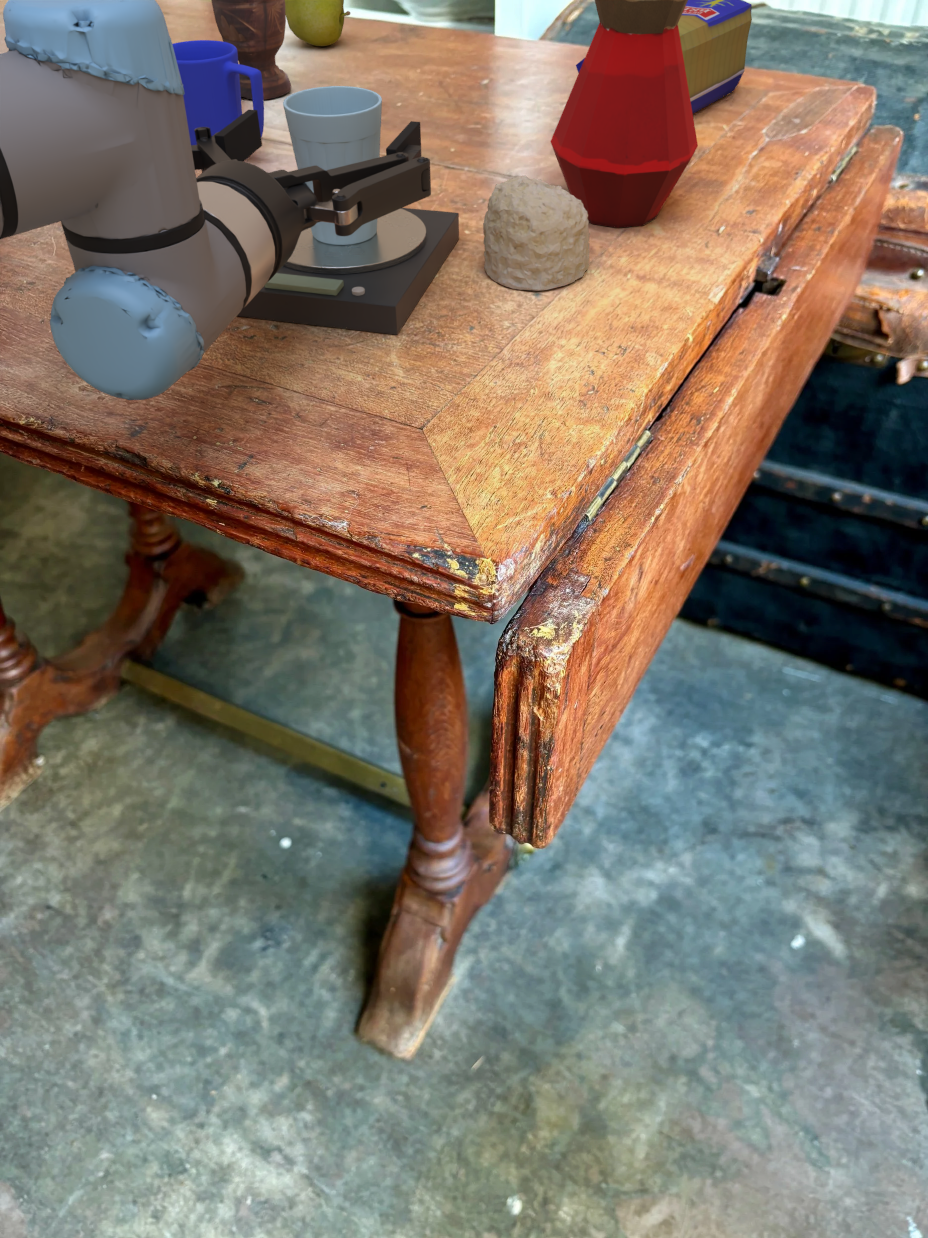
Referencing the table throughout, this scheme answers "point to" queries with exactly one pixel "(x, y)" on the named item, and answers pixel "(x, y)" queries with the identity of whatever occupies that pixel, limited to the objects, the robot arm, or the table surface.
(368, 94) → the cup
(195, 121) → the mug
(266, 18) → the mortar and pestle
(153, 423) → the table surface
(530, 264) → the rock
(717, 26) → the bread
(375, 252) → the scale platform
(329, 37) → the apple
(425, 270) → the scale
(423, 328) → the table surface
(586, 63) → the red faceted vase
